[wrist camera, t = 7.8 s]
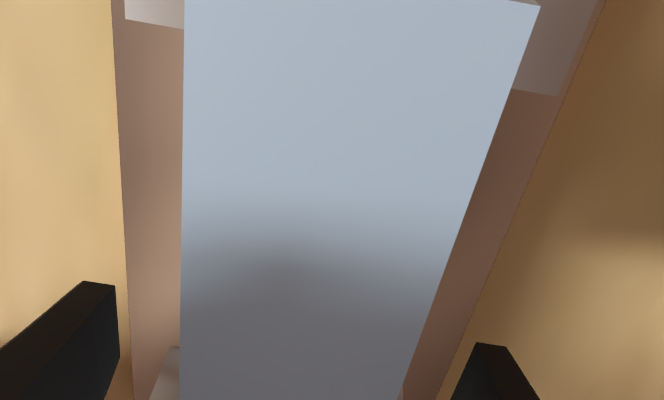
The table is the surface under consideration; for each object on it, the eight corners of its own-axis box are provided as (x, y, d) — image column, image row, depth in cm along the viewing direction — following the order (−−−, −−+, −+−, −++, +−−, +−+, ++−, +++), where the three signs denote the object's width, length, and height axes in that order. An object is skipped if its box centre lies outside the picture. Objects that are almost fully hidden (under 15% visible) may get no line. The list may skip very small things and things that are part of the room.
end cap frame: (144, 401, 20) (107, 494, 18) (116, -305, 10) (5, -371, 7) (405, 440, 21) (411, 537, 18) (662, -193, 10) (785, -207, 7)
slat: (228, 394, 18) (176, 600, 13) (274, -108, 10) (186, -61, 5) (330, 410, 19) (316, 619, 14) (457, -73, 10) (540, 5, 5)
